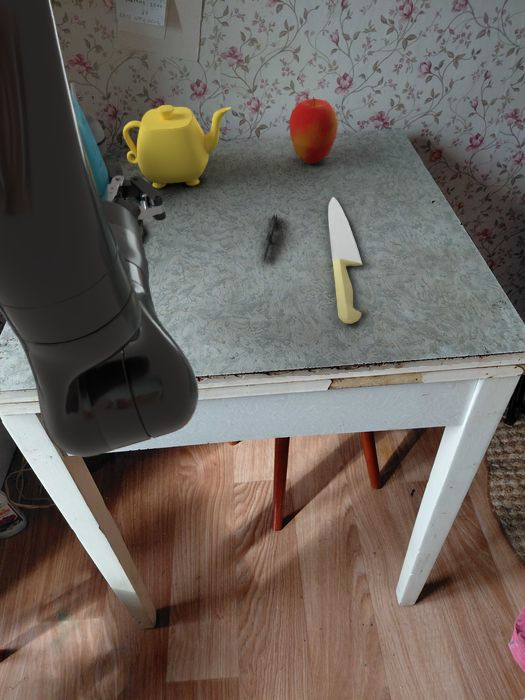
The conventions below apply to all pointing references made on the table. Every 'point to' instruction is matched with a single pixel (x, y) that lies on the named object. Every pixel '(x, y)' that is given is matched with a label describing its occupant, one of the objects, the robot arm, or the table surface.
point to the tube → (92, 151)
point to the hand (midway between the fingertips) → (92, 174)
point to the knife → (343, 261)
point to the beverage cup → (96, 133)
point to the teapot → (172, 145)
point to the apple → (313, 129)
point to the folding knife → (270, 234)
